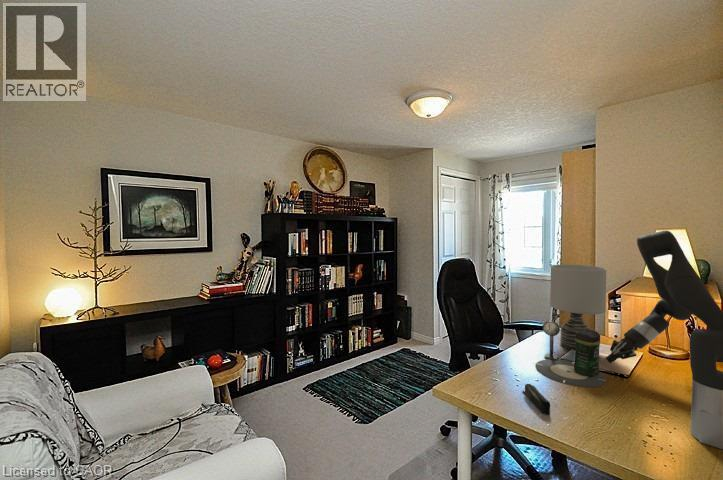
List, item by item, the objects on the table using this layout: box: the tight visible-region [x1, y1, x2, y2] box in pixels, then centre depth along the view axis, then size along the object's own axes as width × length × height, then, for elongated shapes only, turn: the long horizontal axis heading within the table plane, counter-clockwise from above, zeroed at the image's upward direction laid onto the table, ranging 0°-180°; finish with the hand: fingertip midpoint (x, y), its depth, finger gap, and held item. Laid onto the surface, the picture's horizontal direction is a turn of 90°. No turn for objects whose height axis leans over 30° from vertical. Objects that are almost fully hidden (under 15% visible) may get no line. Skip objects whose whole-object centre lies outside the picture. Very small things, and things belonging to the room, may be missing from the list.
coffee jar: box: [574, 329, 601, 377], centre depth 138 cm, size 10×8×19 cm
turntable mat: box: [534, 359, 607, 388], centre depth 140 cm, size 26×26×1 cm
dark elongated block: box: [521, 383, 551, 415], centre depth 116 cm, size 5×3×15 cm
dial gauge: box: [542, 320, 561, 360], centre depth 154 cm, size 5×7×18 cm
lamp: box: [549, 264, 607, 352], centre depth 167 cm, size 24×24×42 cm
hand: (607, 361), depth 137 cm, fingers closed
